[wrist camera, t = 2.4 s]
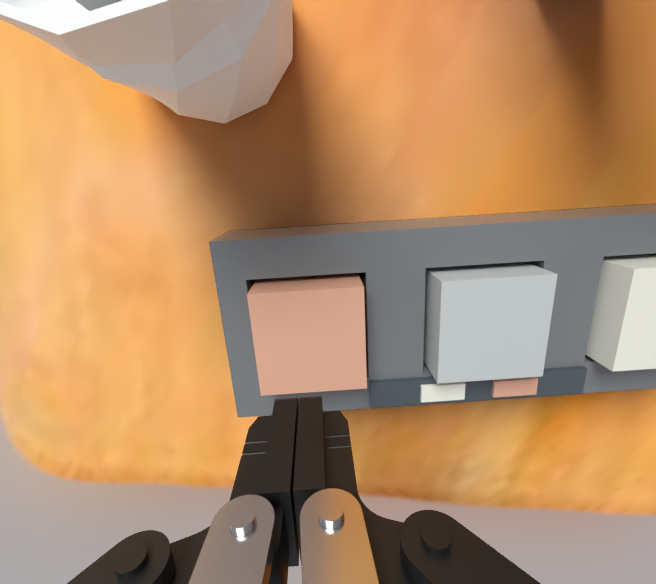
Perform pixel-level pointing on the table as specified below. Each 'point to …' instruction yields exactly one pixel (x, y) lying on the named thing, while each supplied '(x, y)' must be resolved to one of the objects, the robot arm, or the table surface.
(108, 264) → the table surface
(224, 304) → the keypad housing
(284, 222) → the table surface
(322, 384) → the terracotta key
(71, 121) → the table surface
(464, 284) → the grey key
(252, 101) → the vase
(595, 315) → the cream key
